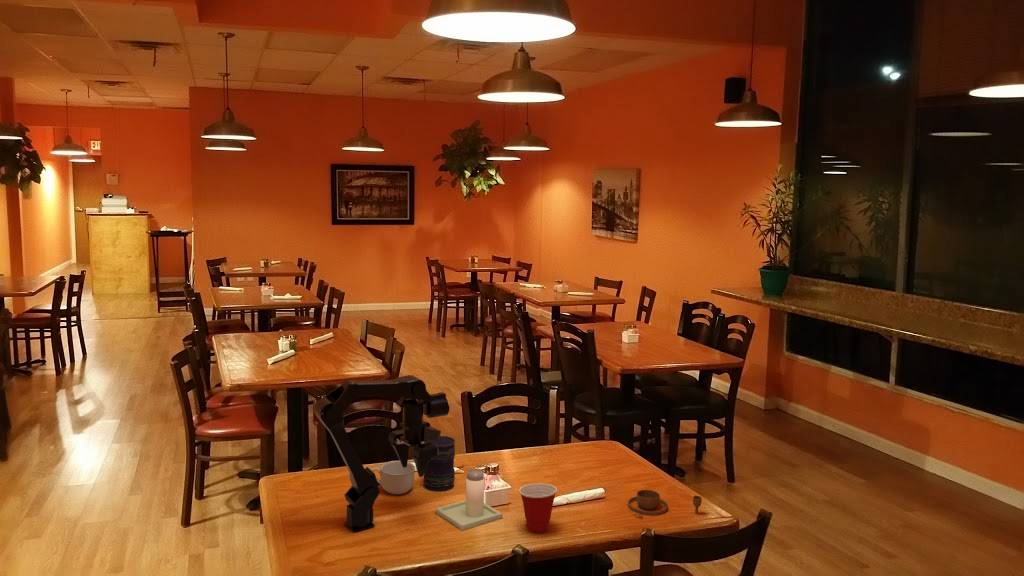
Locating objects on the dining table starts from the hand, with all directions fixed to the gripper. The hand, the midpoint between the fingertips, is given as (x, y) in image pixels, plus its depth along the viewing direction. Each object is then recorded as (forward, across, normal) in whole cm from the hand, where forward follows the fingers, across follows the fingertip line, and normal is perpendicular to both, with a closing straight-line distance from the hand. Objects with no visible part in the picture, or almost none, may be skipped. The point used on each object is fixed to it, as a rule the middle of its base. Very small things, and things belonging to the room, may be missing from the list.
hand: (412, 472), depth 225 cm
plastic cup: (+13, -28, -24) cm, 39 cm away
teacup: (+13, +19, -4) cm, 23 cm away
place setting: (+14, -40, -62) cm, 75 cm away
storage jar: (+13, +14, -18) cm, 26 cm away
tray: (+13, -10, -13) cm, 21 cm away
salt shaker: (+12, -11, -14) cm, 22 cm away
